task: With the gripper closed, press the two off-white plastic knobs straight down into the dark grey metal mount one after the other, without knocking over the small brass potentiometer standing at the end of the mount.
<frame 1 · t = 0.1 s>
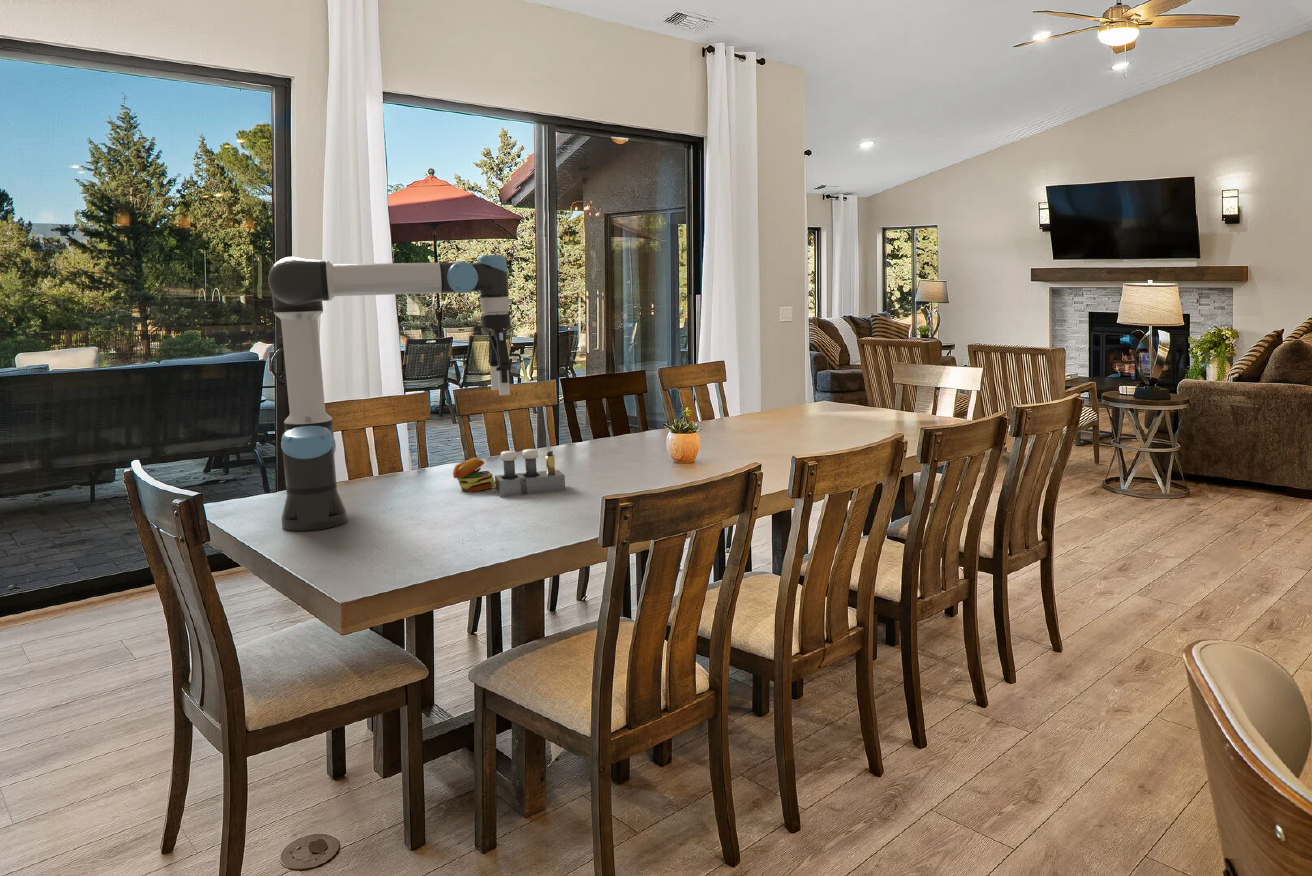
hand: (500, 392, 250), 28 cm above the table, fingers open, 13 cm apart
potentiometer: (550, 473, 257), point 4 cm above the table, touching mount
knob 1: (509, 464, 252), point 8 cm above the table, slide at 0.0 cm
mount: (530, 491, 256), on the table
knob 2: (530, 462, 254), point 8 cm above the table, slide at 0.0 cm
cheeseburger: (474, 489, 261), on the table
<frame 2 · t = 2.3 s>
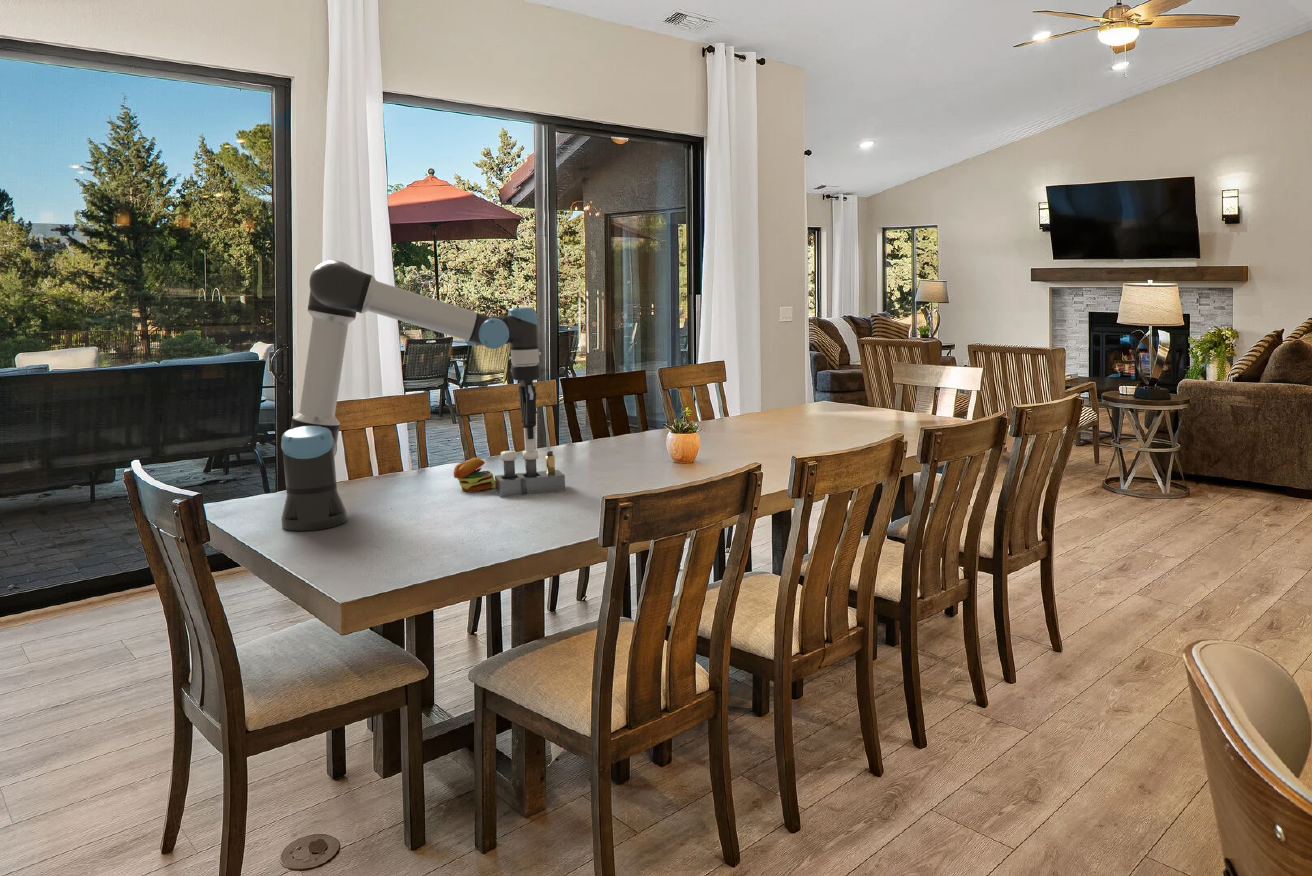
hand: (530, 450, 254), 12 cm above the table, fingers closed
knob 2: (530, 463, 254), point 8 cm above the table, slide at 0.3 cm, touching gripper
everything else where it was.
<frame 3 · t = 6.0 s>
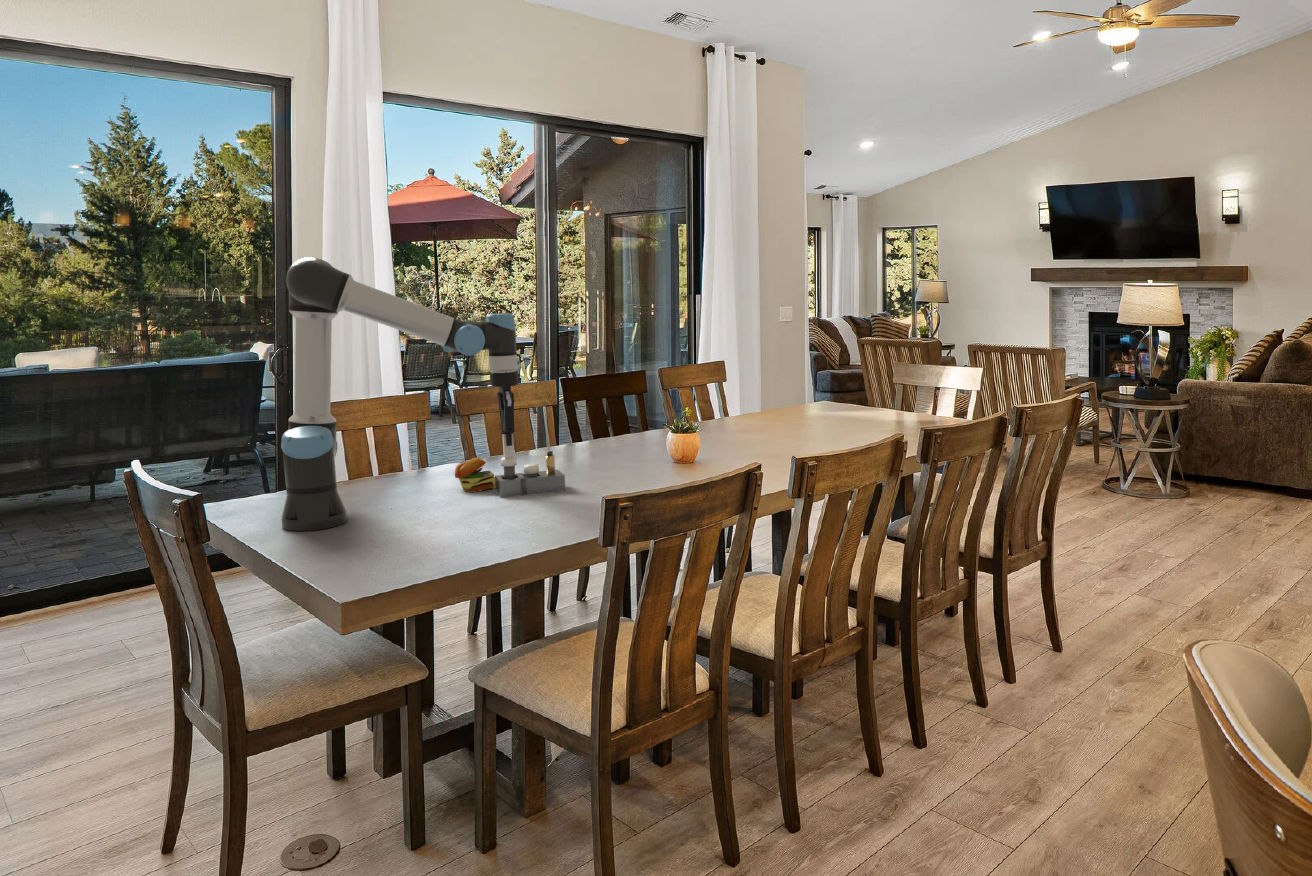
hand: (509, 456, 252), 10 cm above the table, fingers closed
knob 1: (509, 470, 253), point 7 cm above the table, slide at 1.6 cm, touching gripper
knob 2: (531, 477, 255), point 4 cm above the table, slide at 4.3 cm
everything else where it was.
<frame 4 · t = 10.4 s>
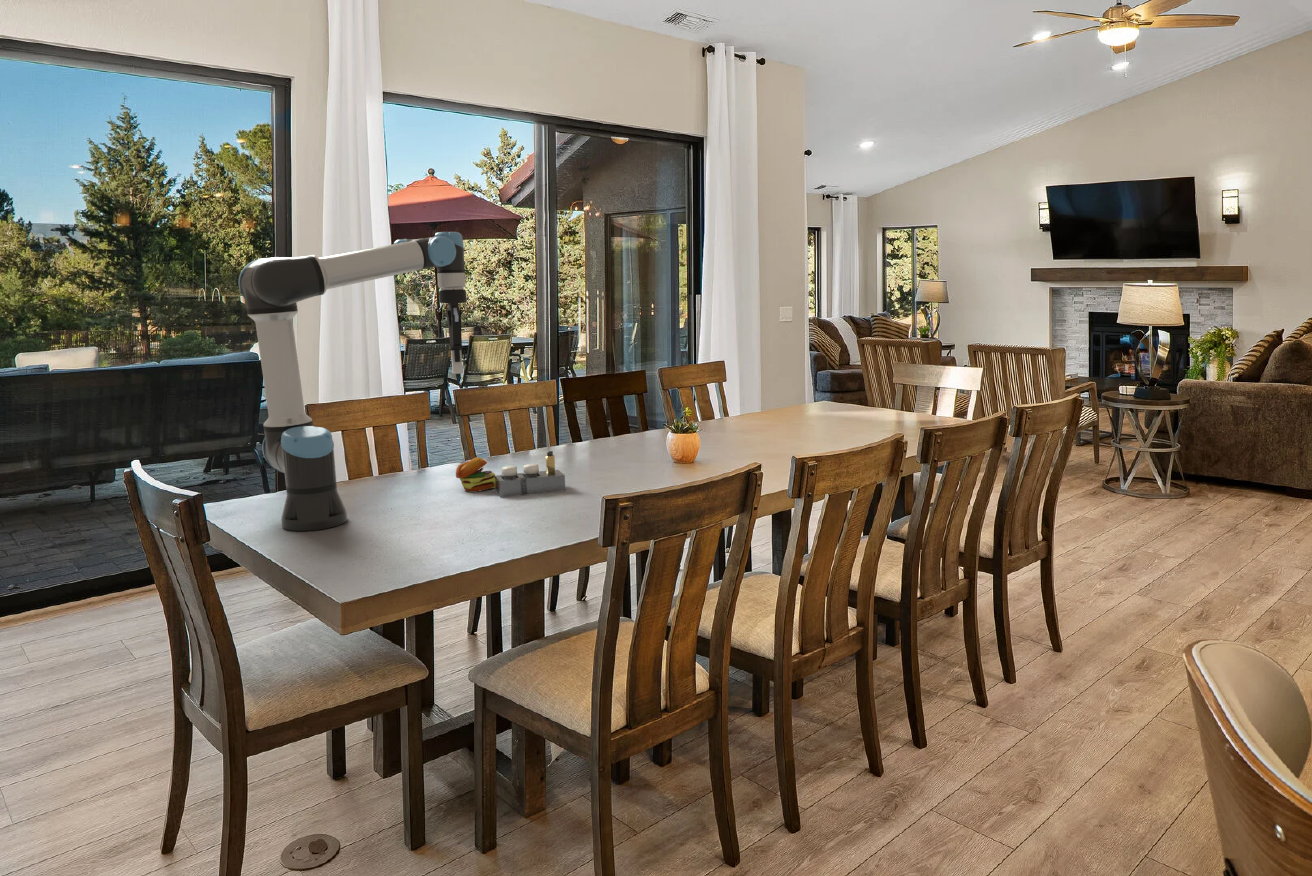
hand: (457, 373, 260), 32 cm above the table, fingers closed
knob 1: (509, 479, 253), point 4 cm above the table, slide at 4.3 cm
everything else where it was.
at the end: knob 2 slide at 4.3 cm; knob 1 slide at 4.3 cm; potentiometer tilted 0° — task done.
